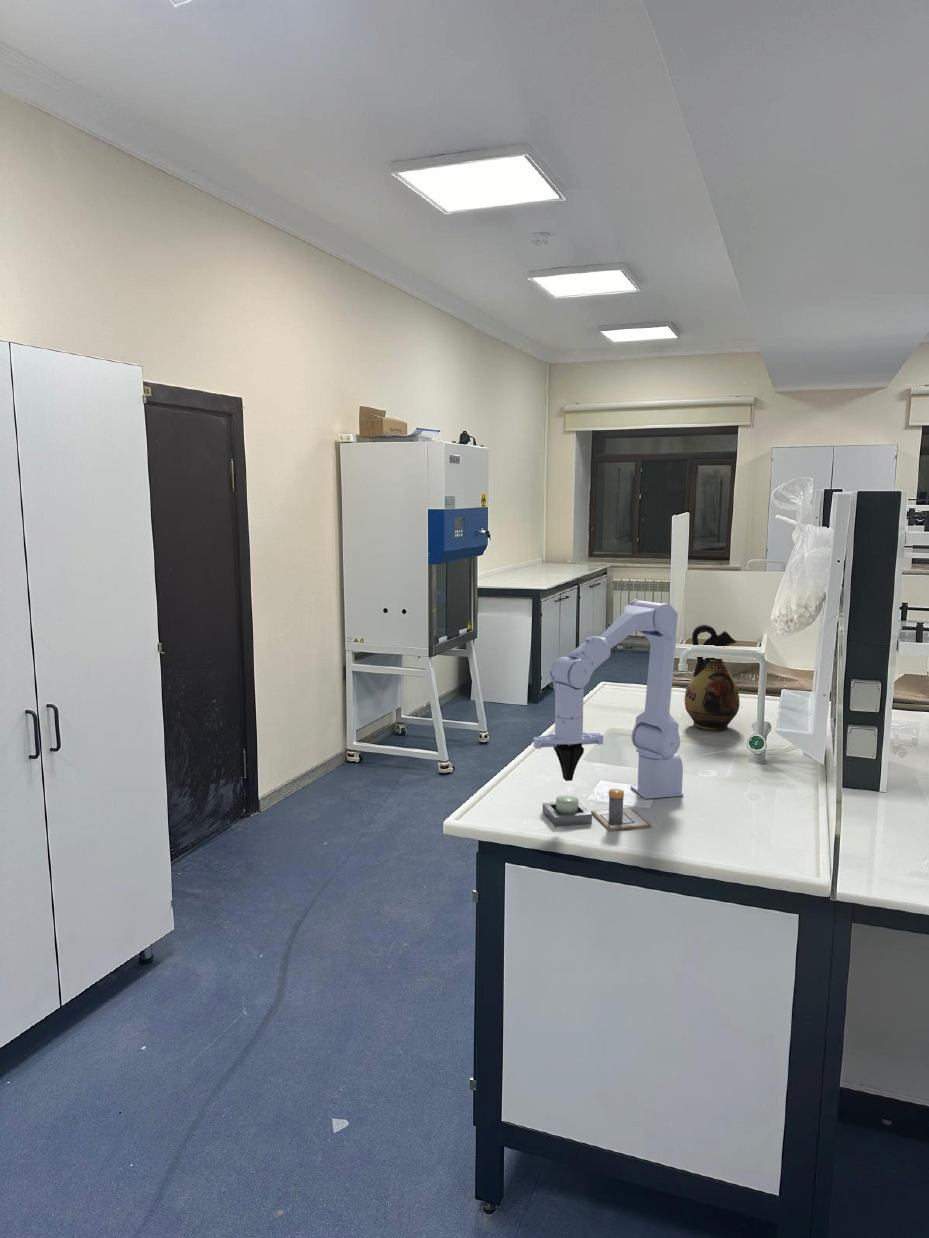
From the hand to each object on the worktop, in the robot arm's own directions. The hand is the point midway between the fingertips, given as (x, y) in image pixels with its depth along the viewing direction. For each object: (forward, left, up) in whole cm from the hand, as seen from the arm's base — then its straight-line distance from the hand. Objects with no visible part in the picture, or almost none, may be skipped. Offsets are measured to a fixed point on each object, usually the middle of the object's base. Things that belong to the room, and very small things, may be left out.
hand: (567, 779), depth 169 cm
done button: (0, 0, -7) cm, 7 cm away
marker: (-9, +6, -8) cm, 13 cm away
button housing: (0, 0, -8) cm, 8 cm away
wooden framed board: (-11, +3, -8) cm, 14 cm away
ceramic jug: (-65, -57, -9) cm, 87 cm away
